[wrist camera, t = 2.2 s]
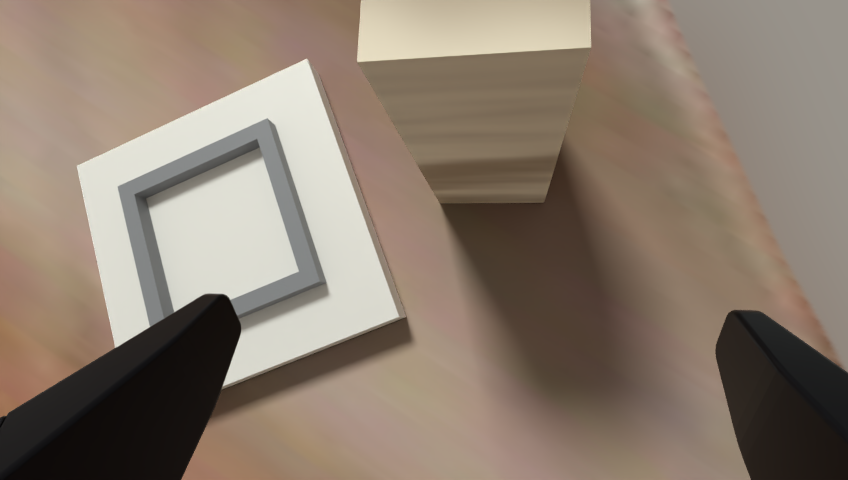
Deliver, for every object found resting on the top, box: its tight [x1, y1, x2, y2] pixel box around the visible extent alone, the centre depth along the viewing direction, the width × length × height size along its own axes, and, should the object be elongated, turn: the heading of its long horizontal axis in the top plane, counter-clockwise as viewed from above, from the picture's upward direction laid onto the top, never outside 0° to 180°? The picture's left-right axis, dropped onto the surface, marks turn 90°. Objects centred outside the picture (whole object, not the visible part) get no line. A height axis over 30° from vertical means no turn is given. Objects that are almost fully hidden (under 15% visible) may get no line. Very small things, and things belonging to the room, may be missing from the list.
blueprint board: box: [77, 59, 406, 389], centre depth 24 cm, size 14×14×2 cm
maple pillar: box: [357, 0, 591, 203], centre depth 17 cm, size 5×5×13 cm
